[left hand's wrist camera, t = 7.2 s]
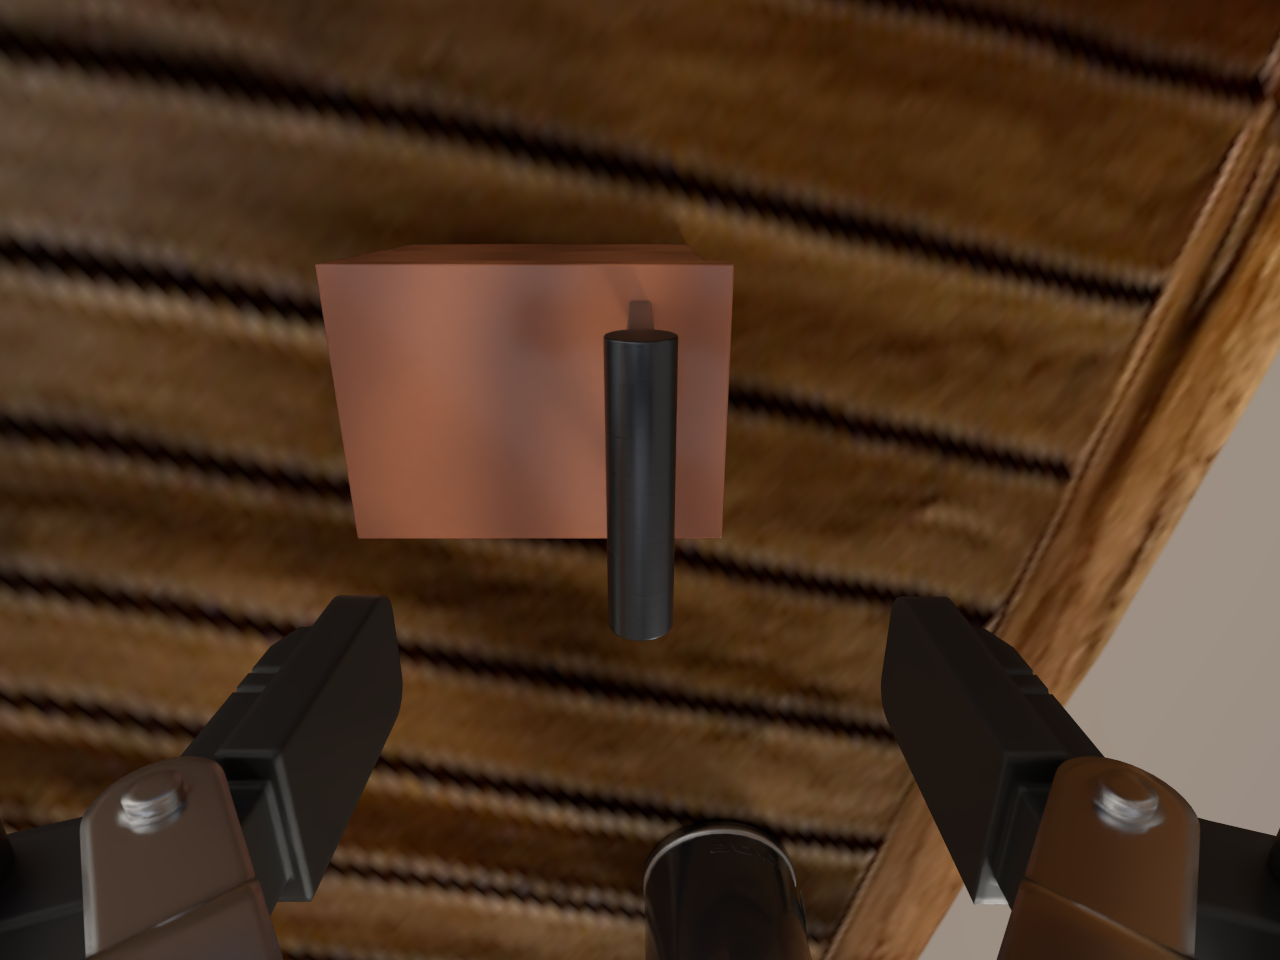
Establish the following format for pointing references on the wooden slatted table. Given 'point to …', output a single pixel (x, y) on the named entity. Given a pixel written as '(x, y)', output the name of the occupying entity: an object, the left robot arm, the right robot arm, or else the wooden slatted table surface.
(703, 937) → the left robot arm
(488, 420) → the lid
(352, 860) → the wooden slatted table surface
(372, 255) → the chest
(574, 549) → the wooden slatted table surface
